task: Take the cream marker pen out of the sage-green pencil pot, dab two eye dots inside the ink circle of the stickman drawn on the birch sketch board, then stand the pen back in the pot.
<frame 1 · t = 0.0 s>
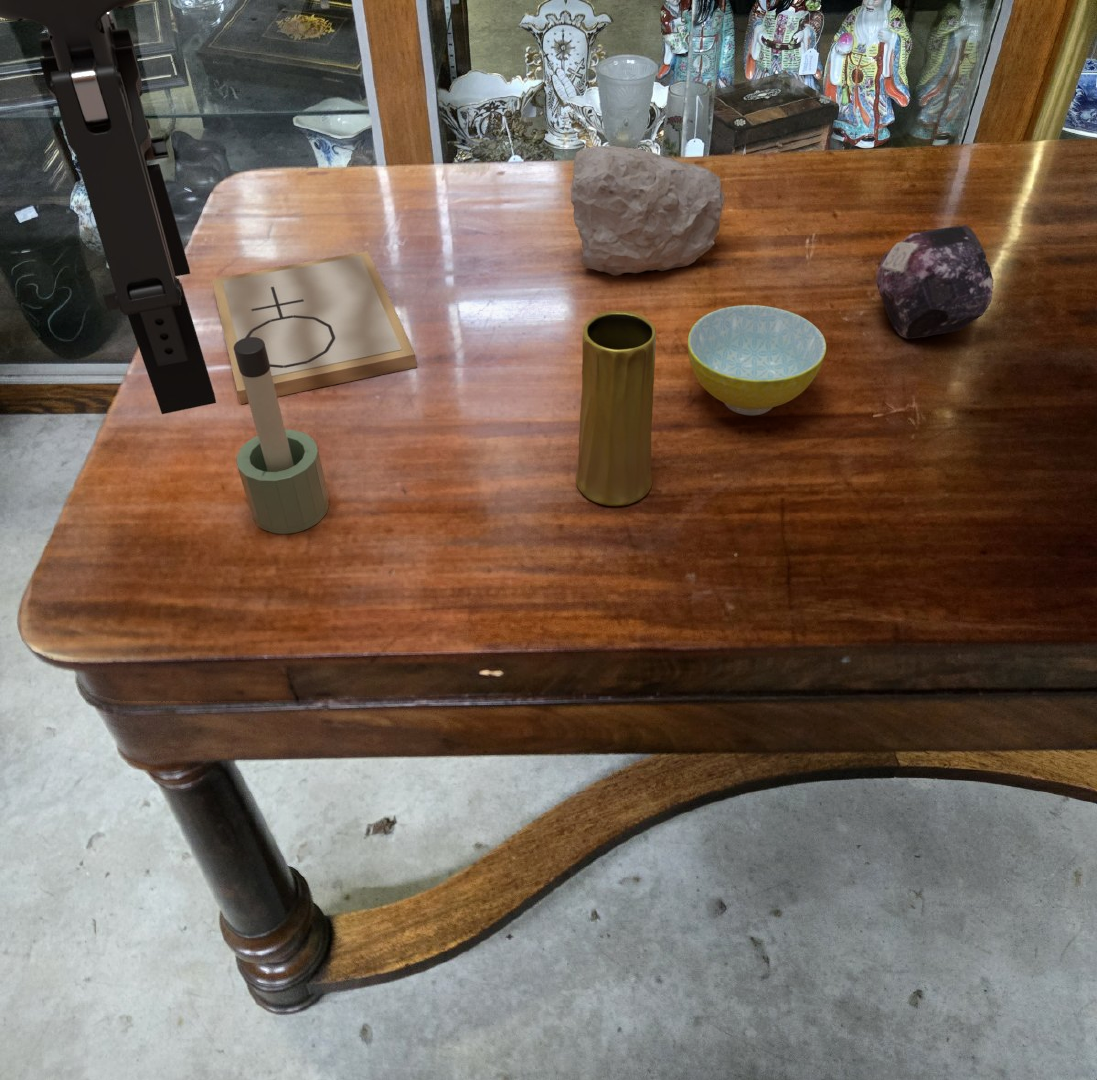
hand: (177, 335, 58), 23 cm above the table, tool pointing down, fingers open, 13 cm apart
pen: (289, 502, 81), point 1 cm above the table, touching pencil pot
sketch board: (311, 327, 100), on the table
vase: (614, 483, 83), on the table
pencil pot: (291, 507, 82), on the table
mineral specimen: (921, 325, 99), on the table
bowl: (747, 401, 91), on the table
rough grey rock: (645, 263, 108), on the table
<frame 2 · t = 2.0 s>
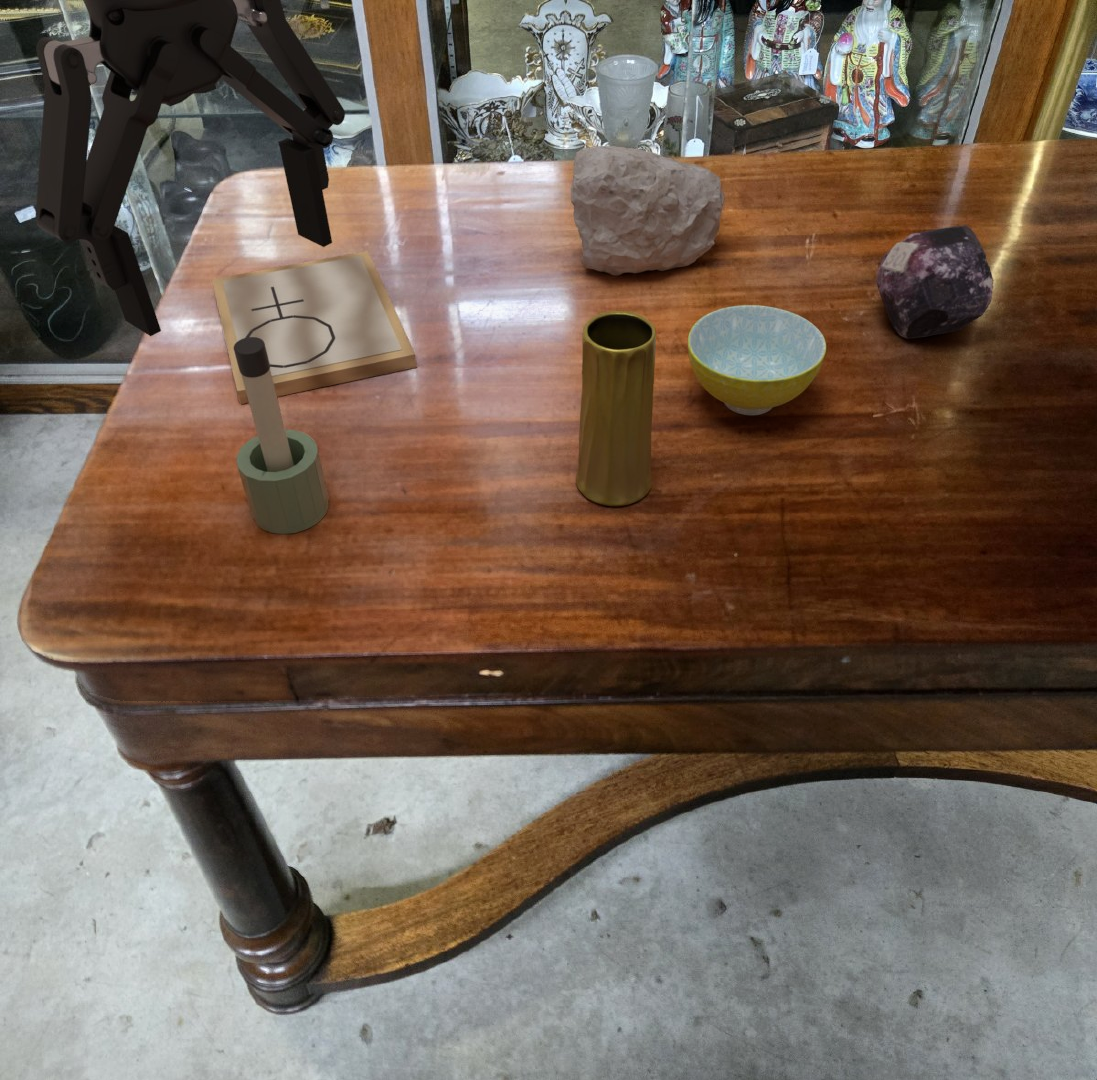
hand: (233, 280, 67), 20 cm above the table, tool pointing down, fingers open, 13 cm apart
nothing on the table moved.
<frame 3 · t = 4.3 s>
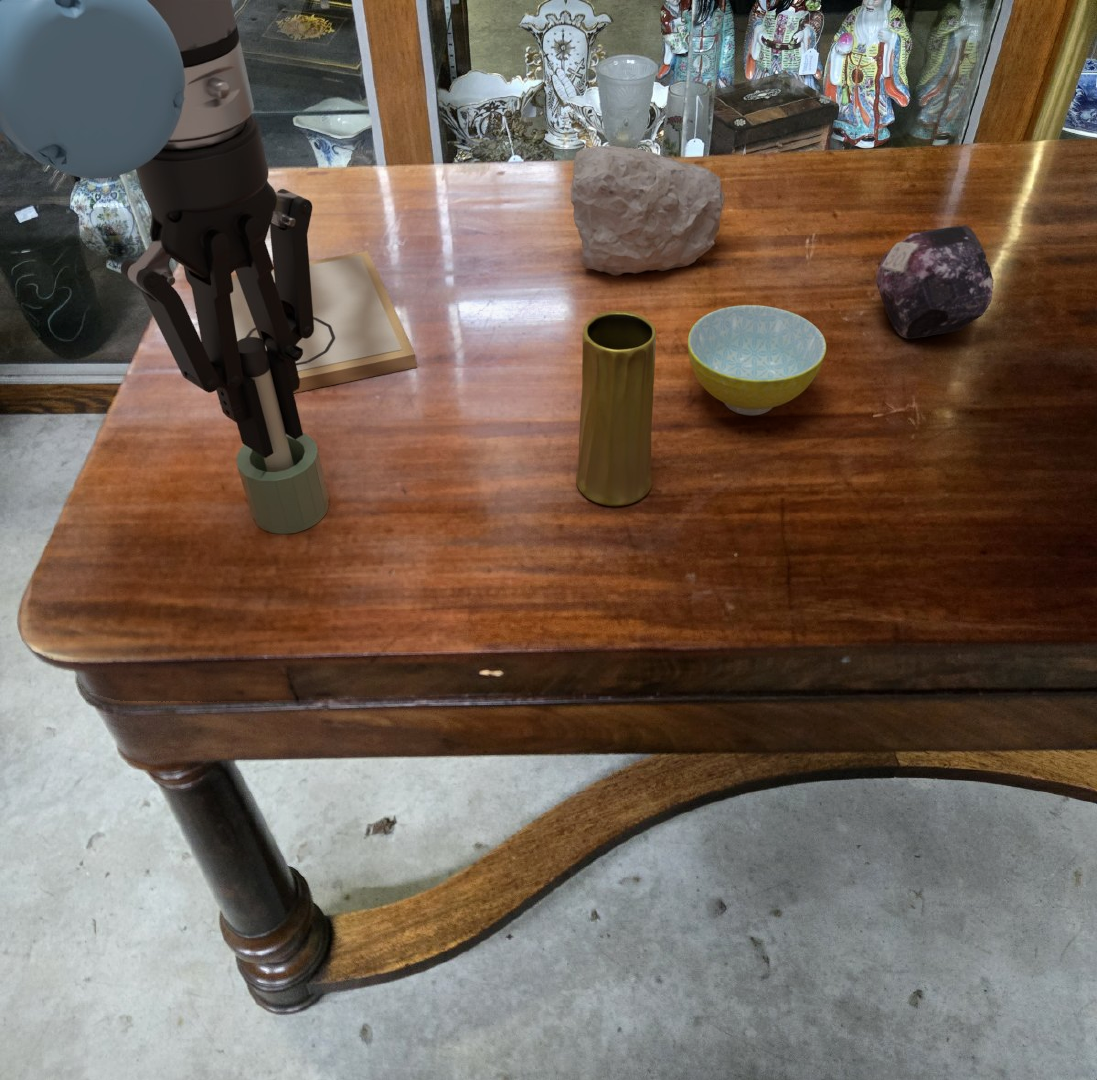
hand: (272, 438, 77), 7 cm above the table, tool pointing down, fingers closed on pen, 2 cm apart
pen: (289, 502, 81), point 1 cm above the table, touching gripper
everything else where it was.
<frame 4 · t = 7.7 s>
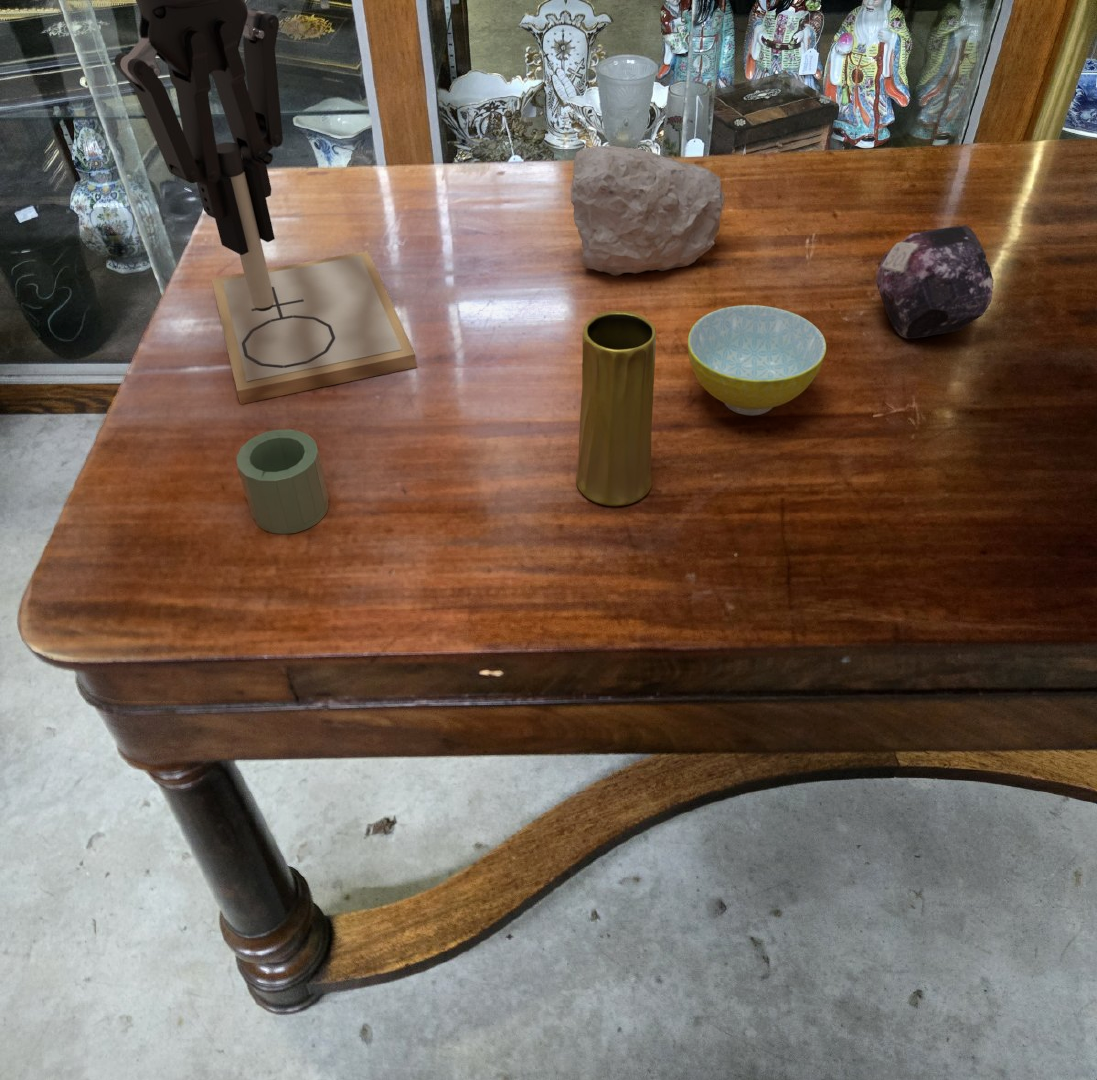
hand: (248, 241, 88), 12 cm above the table, tool pointing down, fingers closed on pen, 2 cm apart
pen: (264, 306, 93), point 5 cm above the table, touching gripper
everything else where it was.
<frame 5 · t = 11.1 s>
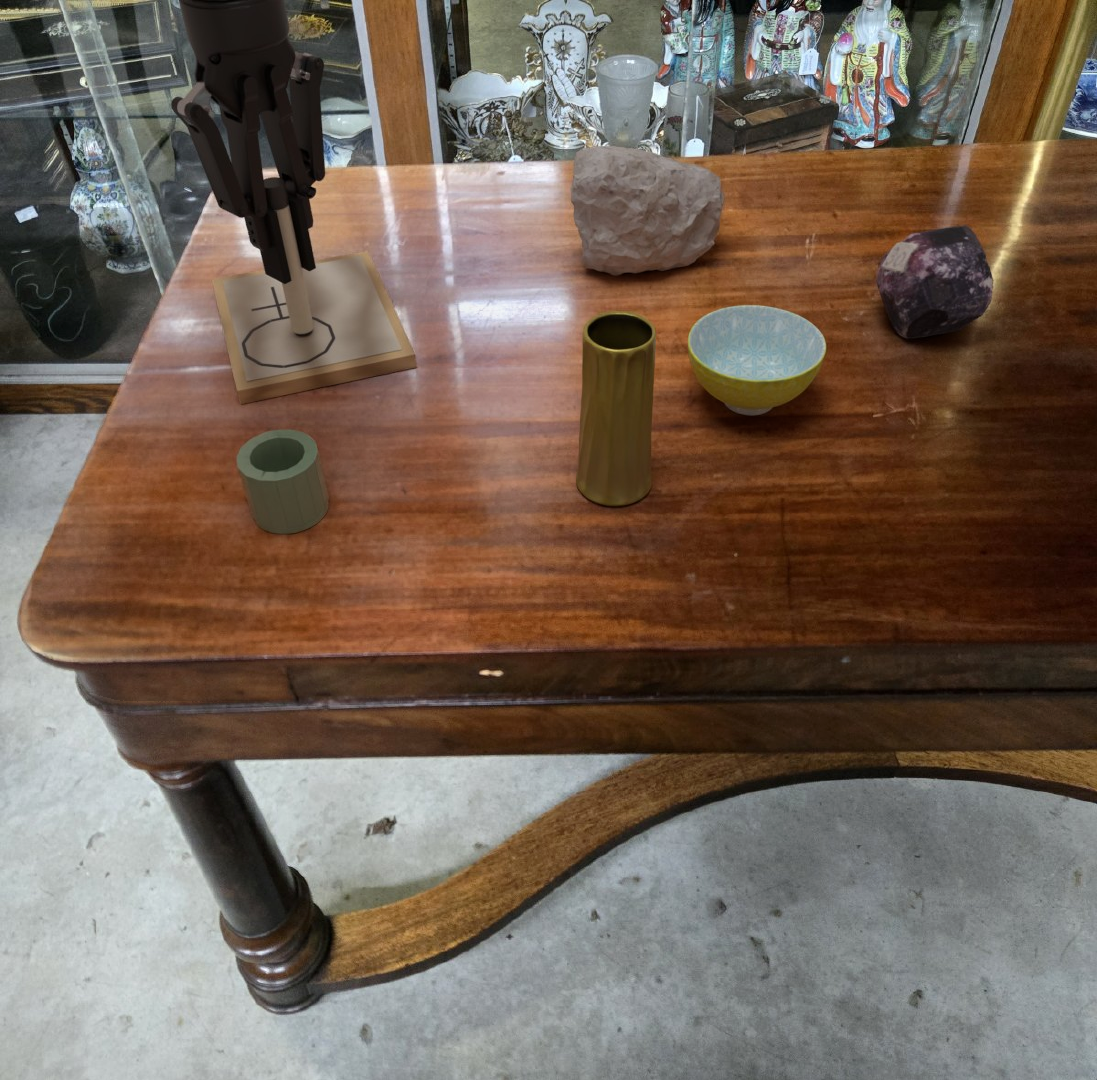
hand: (290, 270, 92), 8 cm above the table, tool pointing down, fingers closed on pen, 2 cm apart
pen: (303, 331, 97), point 2 cm above the table, touching gripper, sketch board
everything else where it was.
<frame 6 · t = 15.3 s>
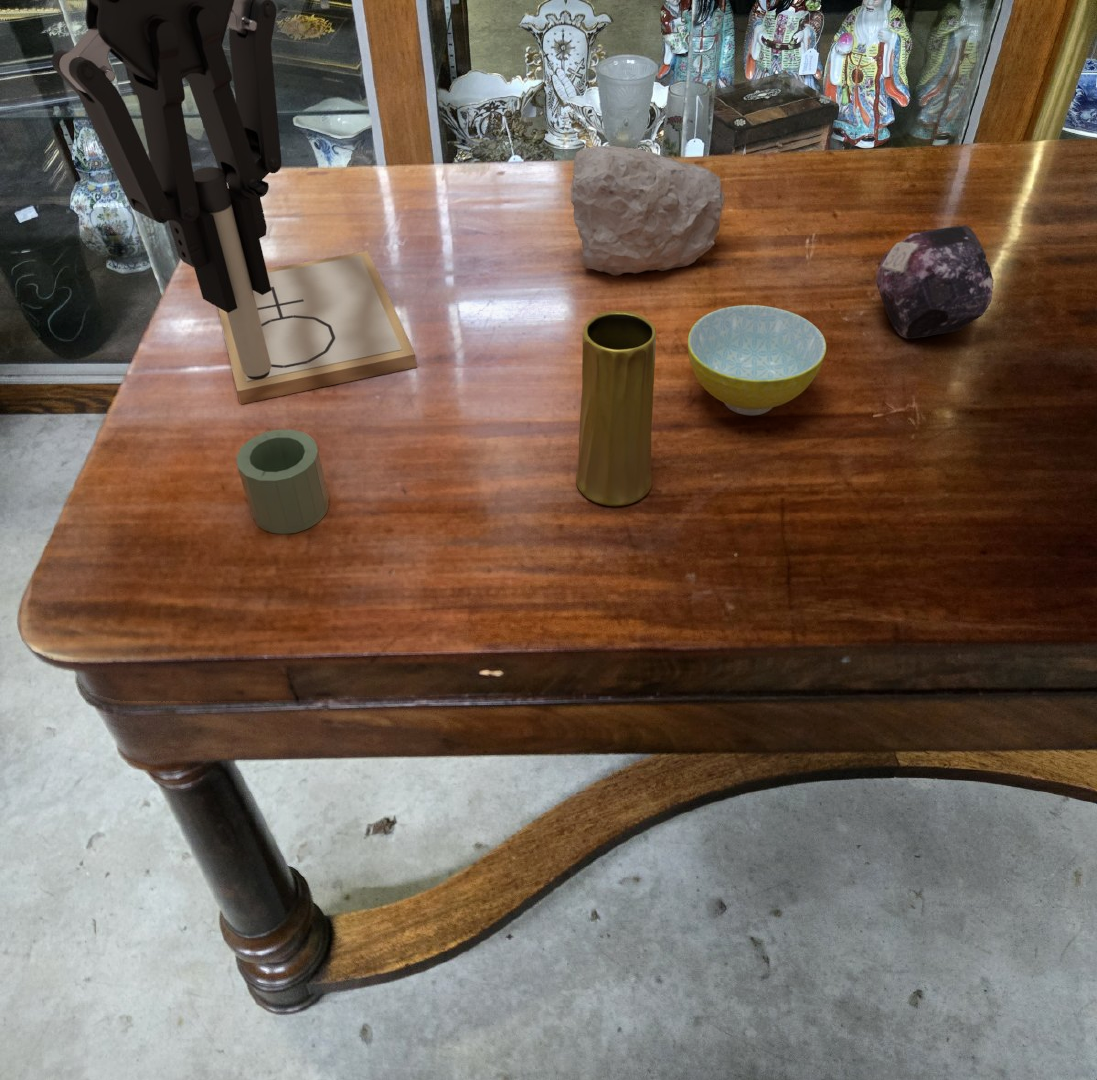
hand: (237, 294, 69), 19 cm above the table, tool pointing down, fingers closed on pen, 2 cm apart
pen: (258, 373, 73), point 13 cm above the table, touching gripper
everything else where it was.
when the fingers open (7 cm above the table, at t = 18.2 s): pen stays where it is, resting on pencil pot.
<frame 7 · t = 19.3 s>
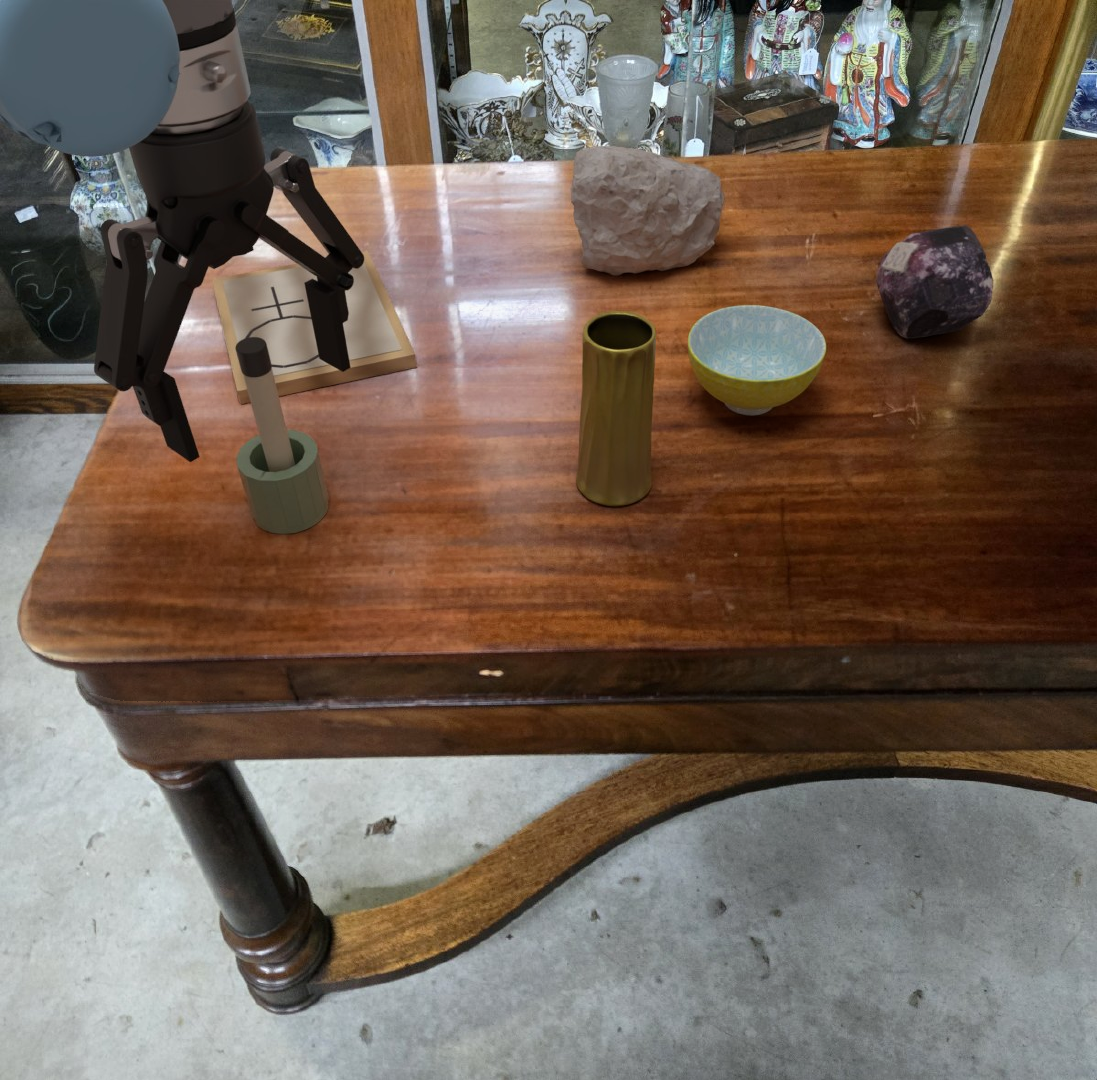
hand: (263, 405, 75), 10 cm above the table, tool pointing down, fingers open, 13 cm apart
pen: (291, 502, 81), point 1 cm above the table, touching pencil pot
everything else where it was.
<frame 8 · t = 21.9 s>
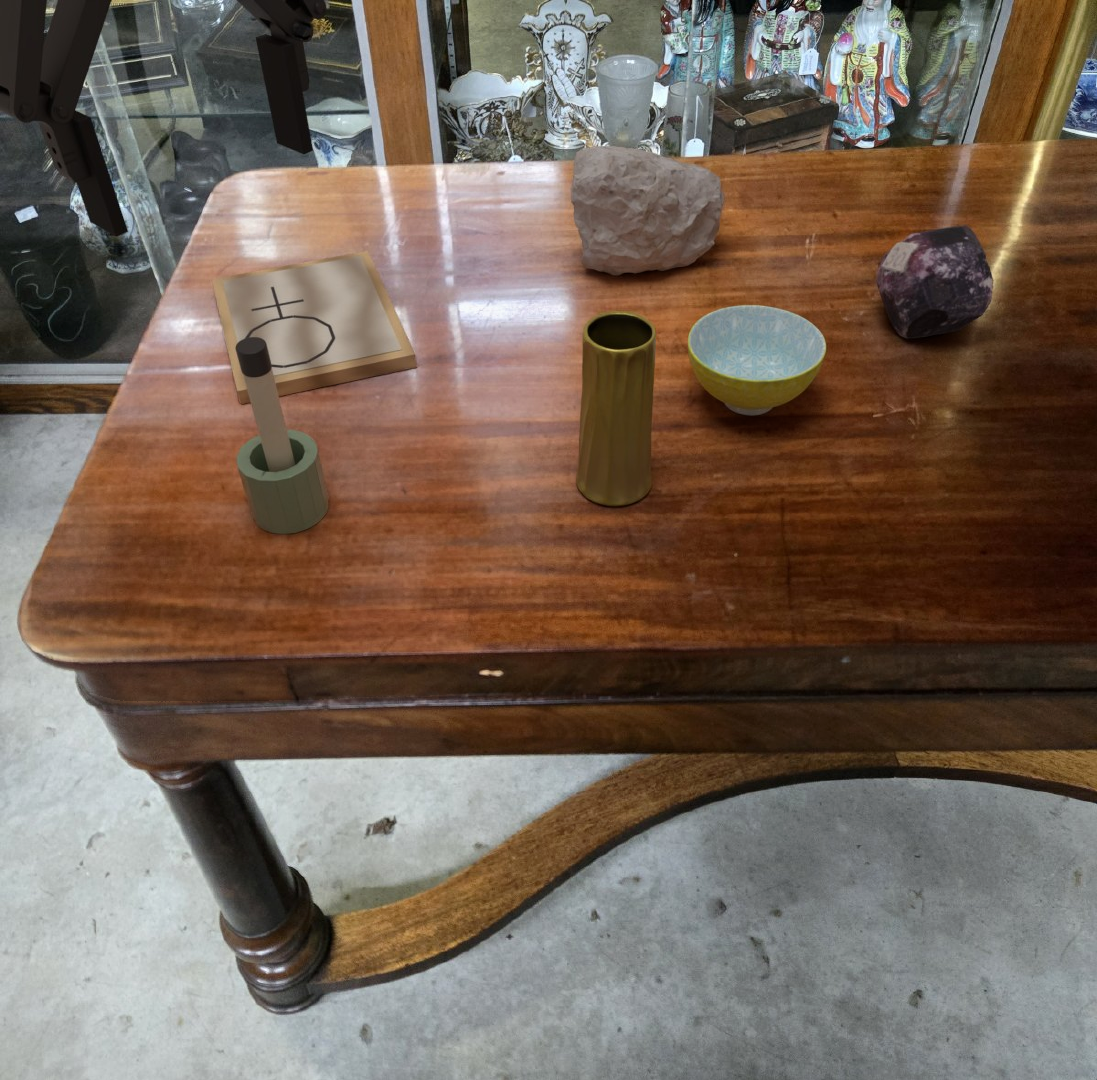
hand: (207, 185, 63), 27 cm above the table, tool pointing down, fingers open, 13 cm apart
nothing on the table moved.
at the end: pen 0.1 cm off-centre in the pencil pot, point 0.6 cm above the pencil pot's base; pen tilted 0°; pen touching pencil pot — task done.
